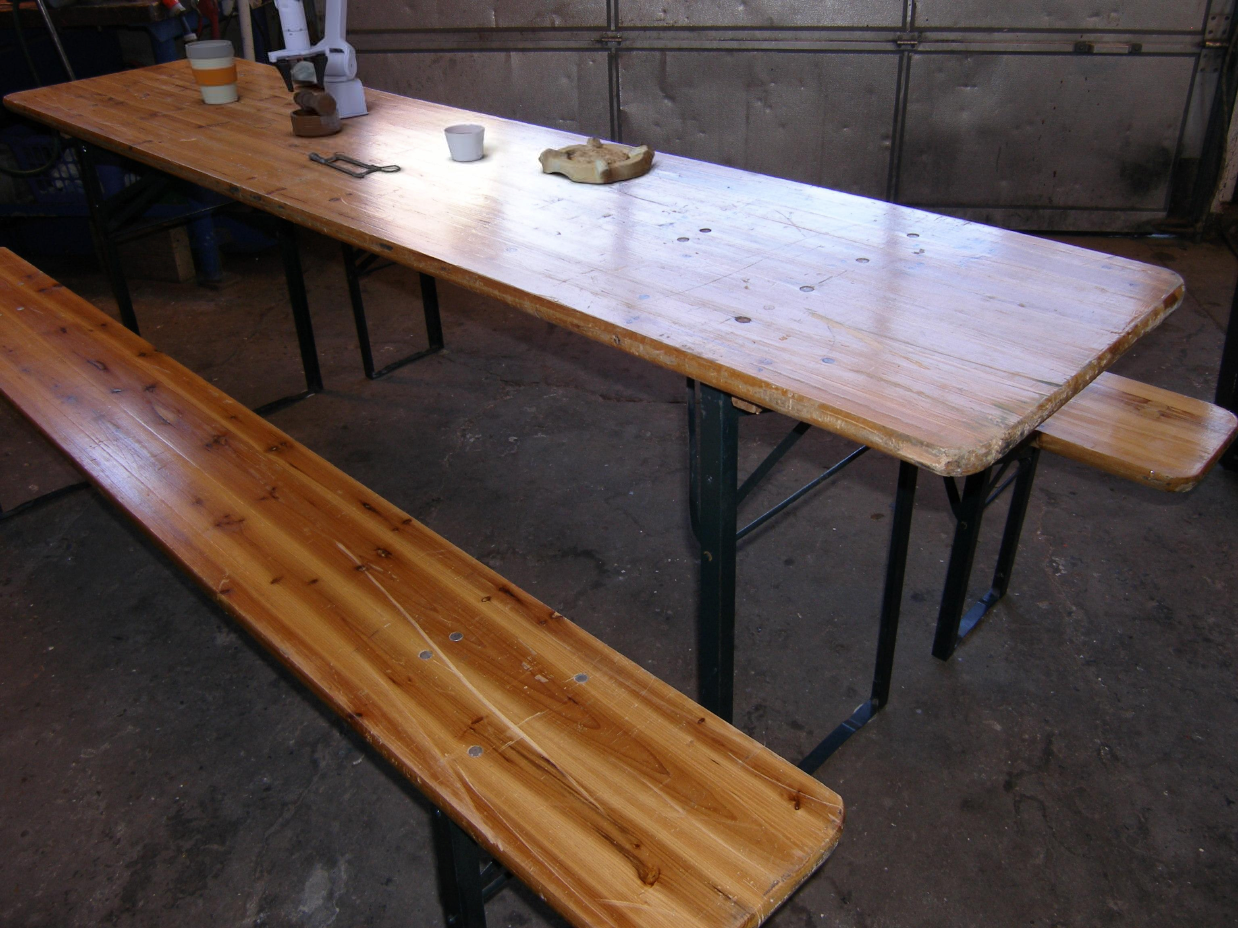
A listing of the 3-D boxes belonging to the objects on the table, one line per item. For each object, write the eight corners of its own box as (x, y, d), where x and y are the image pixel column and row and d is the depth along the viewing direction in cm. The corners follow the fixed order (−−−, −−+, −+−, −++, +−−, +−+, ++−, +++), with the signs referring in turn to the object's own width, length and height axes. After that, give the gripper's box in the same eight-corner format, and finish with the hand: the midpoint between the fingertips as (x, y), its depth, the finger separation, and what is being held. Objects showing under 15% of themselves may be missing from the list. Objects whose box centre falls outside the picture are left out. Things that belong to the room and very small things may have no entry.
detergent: (285, 87, 287) (333, 97, 272) (282, 62, 284) (329, 70, 269) (324, 84, 296) (372, 93, 281) (321, 59, 292) (369, 66, 278)
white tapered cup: (471, 150, 224) (468, 122, 220) (495, 157, 218) (492, 128, 215) (439, 158, 218) (435, 129, 215) (463, 165, 213) (460, 136, 210)
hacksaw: (306, 159, 220) (305, 153, 219) (346, 150, 226) (345, 144, 225) (363, 180, 205) (361, 173, 204) (404, 170, 211) (403, 163, 210)
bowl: (330, 124, 248) (326, 104, 245) (349, 132, 240) (345, 112, 237) (286, 131, 242) (282, 111, 240) (304, 140, 234) (300, 119, 232)
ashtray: (571, 192, 195) (570, 167, 192) (526, 164, 213) (524, 141, 210) (673, 174, 204) (673, 150, 201) (621, 149, 222) (620, 127, 219)
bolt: (304, 113, 245) (332, 121, 235) (286, 106, 241) (313, 113, 231) (310, 90, 244) (339, 97, 234) (292, 82, 240) (320, 89, 230)
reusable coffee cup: (253, 98, 276) (241, 42, 268) (217, 107, 267) (204, 49, 259) (225, 94, 282) (212, 38, 274) (188, 102, 273) (174, 45, 265)
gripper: (271, 35, 224) (283, 96, 231) (330, 28, 231) (340, 87, 238) (260, 31, 228) (272, 92, 236) (318, 24, 236) (328, 83, 243)
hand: (306, 89), depth 237 cm, fingers open, 7 cm apart
